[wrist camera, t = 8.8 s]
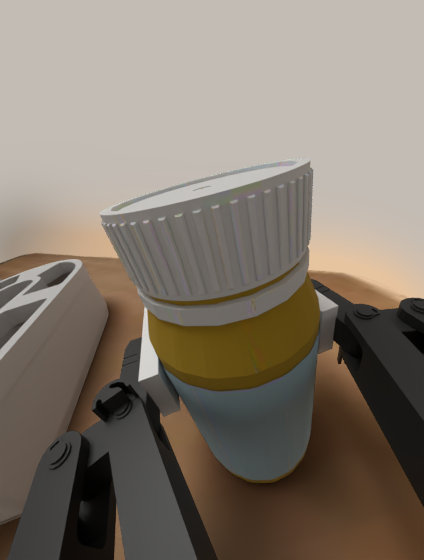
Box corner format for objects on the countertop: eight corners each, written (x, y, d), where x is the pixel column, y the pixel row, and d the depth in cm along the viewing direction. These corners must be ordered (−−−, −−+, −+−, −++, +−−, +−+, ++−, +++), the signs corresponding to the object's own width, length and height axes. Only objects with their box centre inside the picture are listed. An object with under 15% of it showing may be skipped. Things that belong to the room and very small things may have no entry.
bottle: (307, 379, 15) (319, 149, 7) (313, 513, 9) (383, 172, 2) (222, 363, 18) (166, 185, 10) (189, 459, 12) (18, 236, 5)
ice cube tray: (-272, 652, 10) (-683, 691, 6) (29, 321, 34) (-10, 281, 30) (44, 519, 12) (-101, 474, 8) (121, 291, 36) (96, 249, 32)
